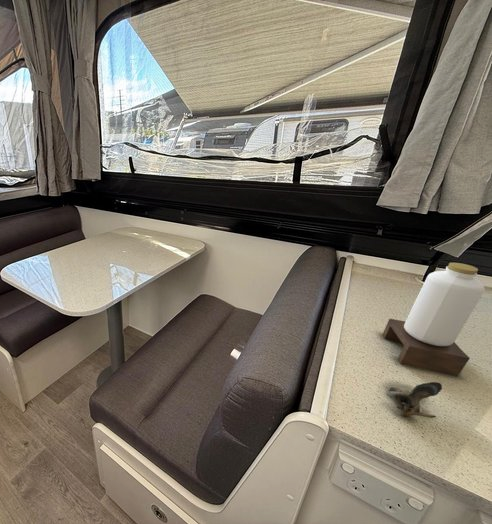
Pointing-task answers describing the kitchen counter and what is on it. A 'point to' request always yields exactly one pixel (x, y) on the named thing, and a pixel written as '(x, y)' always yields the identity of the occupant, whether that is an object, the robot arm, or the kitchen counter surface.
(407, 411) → the eagle figurine
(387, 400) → the kitchen counter surface
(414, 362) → the shelf
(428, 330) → the potion bottle
